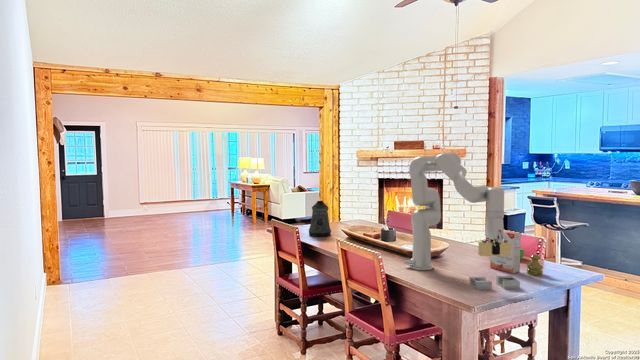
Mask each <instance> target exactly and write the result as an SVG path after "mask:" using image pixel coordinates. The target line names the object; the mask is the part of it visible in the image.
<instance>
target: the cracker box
mask: <svg viewBox="0 0 640 360" xmlns="http://www.w3.org/2000/svg"><path fill="white" fill-rule="evenodd" d="M496 239H498V238H496ZM521 239H522V232H516V231H512V230H506V229H504V237H503V239H502V241H503V240H508V241H509V242H511V255H504V256H489V257H490V260H489V261H490V262H489V265H490V266H489V268H490V269H494V270H498V271H502V272H505V273H509V274H516V273H517V274H518V273H520V271H521V270H520V269H521V259H520V243H522V242H521V241H522V240H521Z"/></svg>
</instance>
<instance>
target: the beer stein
mask: <svg viewBox="0 0 640 360" xmlns="http://www.w3.org/2000/svg"><path fill="white" fill-rule="evenodd" d="M329 209H330V208H329V206H328V205H327V204H326V203H325V202H324V200H317V201H316V203H314V204H313V206H311V210H312V212H311V213H312V214H311V220H310V225H309V228H308V235H309V236H310V237H314V238H326V237H331V234H332V229H331V226H330V220H329Z"/></svg>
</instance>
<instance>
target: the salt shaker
mask: <svg viewBox="0 0 640 360" xmlns="http://www.w3.org/2000/svg"><path fill="white" fill-rule="evenodd" d="M529 258H530V259H531V261H529V263H527V264H526V273H527V275H530V276H534V277H538V276H539V277H540V276H543V274H544V270H543V269H544V265H542V264H541V263H540V262H539V260H540V259H541V258H542V257H541V256H540V255H538V254H536V253H535V254H532V255H530V256H529Z"/></svg>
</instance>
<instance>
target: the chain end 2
mask: <svg viewBox="0 0 640 360" xmlns="http://www.w3.org/2000/svg"><path fill="white" fill-rule="evenodd" d="M495 278H496V279H495V281H496V282H495V284H496V285H498V286H499V287H501V288H502V289H504V290H520V289H521V281H520V280H518V279H516V278H515V277H513V276H511V275H501V276H500V275H496V277H495Z"/></svg>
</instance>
